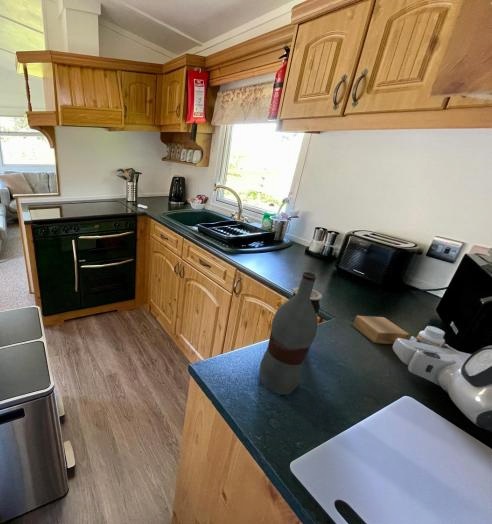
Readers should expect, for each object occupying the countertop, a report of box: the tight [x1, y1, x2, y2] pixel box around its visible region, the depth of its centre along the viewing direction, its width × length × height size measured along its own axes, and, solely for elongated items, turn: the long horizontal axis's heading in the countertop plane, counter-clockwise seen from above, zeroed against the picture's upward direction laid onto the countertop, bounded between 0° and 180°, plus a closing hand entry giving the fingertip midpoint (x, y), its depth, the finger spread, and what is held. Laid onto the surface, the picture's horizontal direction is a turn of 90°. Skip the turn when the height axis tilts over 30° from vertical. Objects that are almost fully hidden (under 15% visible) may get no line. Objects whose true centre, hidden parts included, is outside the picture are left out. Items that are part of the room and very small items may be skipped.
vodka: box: [258, 271, 318, 396], centre depth 67 cm, size 9×9×30 cm
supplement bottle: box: [416, 325, 446, 348], centre depth 85 cm, size 6×6×10 cm
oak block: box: [352, 315, 410, 345], centre depth 96 cm, size 10×10×4 cm
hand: (427, 342), depth 85 cm, fingers closed on supplement bottle, 5 cm apart
